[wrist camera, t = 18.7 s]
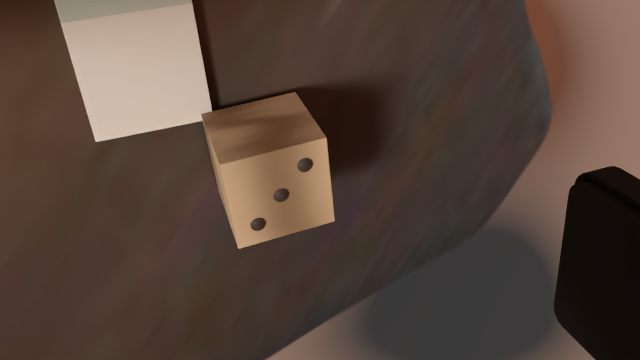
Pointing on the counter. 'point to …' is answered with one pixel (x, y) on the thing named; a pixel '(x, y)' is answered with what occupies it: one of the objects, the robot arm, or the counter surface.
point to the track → (136, 63)
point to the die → (270, 168)
